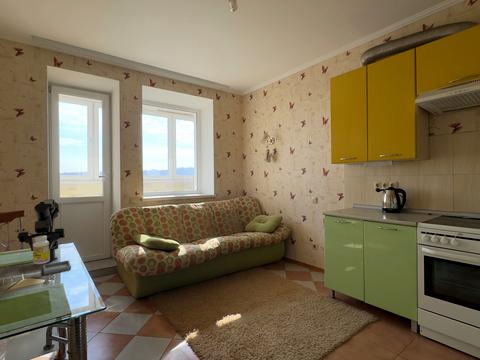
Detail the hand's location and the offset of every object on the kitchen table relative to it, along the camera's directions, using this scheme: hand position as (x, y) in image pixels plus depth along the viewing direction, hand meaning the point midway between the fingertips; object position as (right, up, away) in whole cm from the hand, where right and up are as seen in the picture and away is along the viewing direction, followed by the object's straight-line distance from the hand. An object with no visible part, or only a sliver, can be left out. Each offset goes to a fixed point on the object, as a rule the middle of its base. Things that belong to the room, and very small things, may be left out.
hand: (40, 249), depth 129 cm
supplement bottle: (-1, -7, +2) cm, 7 cm away
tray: (+3, -12, +8) cm, 14 cm away
